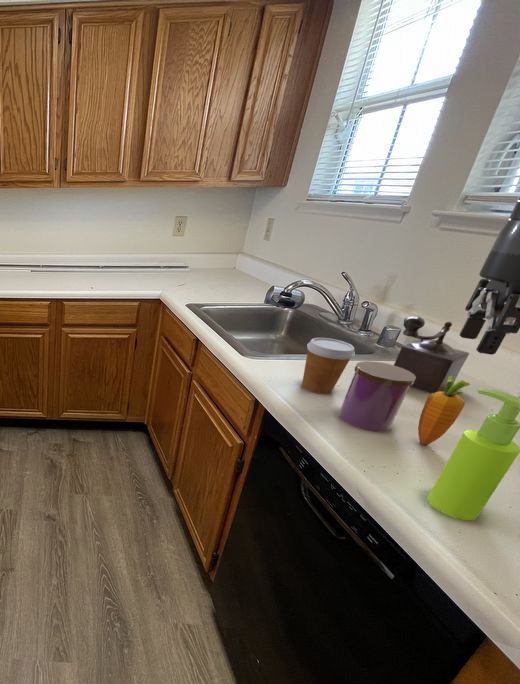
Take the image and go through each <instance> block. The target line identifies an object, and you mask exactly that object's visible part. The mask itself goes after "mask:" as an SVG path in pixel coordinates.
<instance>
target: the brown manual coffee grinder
mask: <svg viewBox="0 0 520 684" xmlns="http://www.w3.org/2000/svg"><path fill="white" fill-rule="evenodd" d="M425 325H426V322H425V319H424V318H422V317H420V316H417V315H412V316H408V317H405V318H404V319H403V327H404V330H403V331H402V334H403V335H404V336H406V337H411V338H414V339H417V340H413V341H411V342H410V343H408V344H405V345H402V346H401V348H400V350H399V353H398V355H397V356H396V360H395V361H394V364H393V365H394V366H397V367H400V368H403V369H405V370H408V371H410V372H411V373H413V374H414V375H415V376H416V379H415V381H414V383H413V384H412V385H410V387H412V388H415V389H417V390H421V391H423V392H427V393H430V394H432V393H435V392H439V391H442V392H445V385H446V382H447V380H448V376H454V381H453V384H452V386H453V385H455V382H456V380H457V377H458V375H459V374H460V371H462V368H463V366H464V365H465V362H466V360H467V359H468V357H469V355H470V352H468V351H464V350H461V349H456V348H453V347H452V346H450V345H449V344H447V343H446V342H444V339H445V337H446V335H447V333H448V332H450V330H451V327H452V326H453V322H451V321H446V322H445V323H444V324H443V325H444V326H442V328H441V330H440V331H439V332H437V333H436V334H433V335H432V336H424V335H419V330H420V329H421V328H423V327H424V326H425Z"/></svg>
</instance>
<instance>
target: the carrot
mask: <svg viewBox="0 0 520 684" xmlns="http://www.w3.org/2000/svg"><path fill="white" fill-rule="evenodd" d="M453 381H454V376H448V380H447V382H446V385H445V390H444V391H439V392H435V393H430V394H429V395H428V397H427V399H426V401H425V403H424V405H423V408H422V410H421V413H420V416H419V421H418V426H417V430H418V431H417V432H418V439H419V443H420V444H421V445H423V446H429V445H430V444H432V443H434V442H435V441H436V440H438V439H439V438H441V437H442V436H444V435H445V433H446V432H448V430H449V429H450V428H451V427H452V426H453V425H454V423H455V422H456V420H457V419H458V418H459V416H460V414H461V412H462V411H463V409H464V407H465V404H466V403H465V401H464V400H463V399H462V397H460V396H459V395H460V394H463V393H464V392H463V391H462V390H460V389H462V388H464V387H468V386H470V385H471V384H470V382H466V380H465V379H461V380H459V381H457V382H456V383H454V384H453ZM454 382H455V381H454ZM452 384H453V385H452Z"/></svg>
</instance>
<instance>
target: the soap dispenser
mask: <svg viewBox="0 0 520 684" xmlns="http://www.w3.org/2000/svg"><path fill="white" fill-rule="evenodd" d="M476 390H477V393H478V394H480V395H484V396H488V397H490V398H494V399H496V400H498V401H501V402H503V405H502V406H501V408H500V409H499V411H498V413H490V414H488V415H486V417H485V418H484V420H483V422H482V424H481V426H480V427H479V429H466V430H465V431H464V432H463V433H462V435H461V437H460V438H459V440H458V442H457V444H456V446H455V447H454V449H453V451H452V453H451V455H450V456H449V458H448V460H447V462H446V463H445V465H444V467H443V468H442V470H441V472H440V474H439V475H438V478H437V479H436V481H435V483H434V485H433V486H432V488H431V489H430V492H429V493H428V496H427V497H426V499H427V502H428V503H429V504H430V505H431V506H432V507H433V508H434V509H436V510H437V511H439V512H441V513H443V514H445V515H447V516H450V517H452V518H454V519H458V520H462V521H475V520H477V519H478V518H479V516H480V514H481V513H482V511H483V510H484V509H485V506H486V505H487V503H488V502H489V500H490V498H492V495H493V494H494V493H495V491H496V489H497V488H498V486H499V485H500V483H501V482H502V480H503V479H504V477H505V476H506V474H507V473H508V471H509V469H510V467H511V466H512V464H513V463H514V461H516V458H517V457H518V455H519V454H520V445H519V444H517V443H516V442H515V441H513V439H514V438H515V436H516V435H517V433H518V432H519V430H520V422H519V421H518V420H517V419H516V418H517V417H518V415H519V414H520V397H517V396H516V395H513V394H510V393H508V392H504V391H500V390H496V389H489V388H485V389H476Z"/></svg>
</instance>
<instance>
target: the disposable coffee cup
mask: <svg viewBox="0 0 520 684" xmlns="http://www.w3.org/2000/svg"><path fill="white" fill-rule="evenodd" d="M306 347H307V352H306V353H307V354H306V359H305V365H304V371H303V376H302V382H301V387H303V388H304V389H305V390H307V391H310V392H312V393H316V394H322V395H327V394H328V395H329V394H331V393H332V392H333V390H334V388H335V387H336V385H337V383H338V381H339V380H340V378H341V376H342V374H343V372H344V370H345V369H346V367H347V366H348V364H349V362H350V360H351V359H352V358H353V357H354V356H355V355H356V353H355V347H354V346H353V345H352V344H351V343H348V342H346V341H343V340H339V339H335V338H328V337H314V338H311V340H310V341H309V342H308V343H307V344H306Z"/></svg>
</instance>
